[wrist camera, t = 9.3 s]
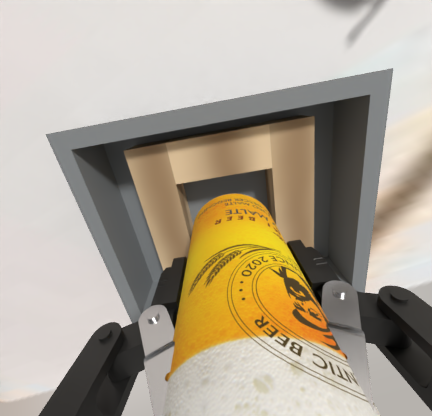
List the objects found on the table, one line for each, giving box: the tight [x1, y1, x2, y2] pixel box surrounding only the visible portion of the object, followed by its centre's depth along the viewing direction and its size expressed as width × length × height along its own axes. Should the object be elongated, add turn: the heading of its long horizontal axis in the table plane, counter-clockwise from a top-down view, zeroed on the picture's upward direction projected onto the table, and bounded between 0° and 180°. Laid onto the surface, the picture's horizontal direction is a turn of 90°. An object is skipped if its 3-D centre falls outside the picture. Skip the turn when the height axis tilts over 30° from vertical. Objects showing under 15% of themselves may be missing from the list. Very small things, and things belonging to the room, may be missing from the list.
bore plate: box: [124, 115, 315, 271], centre depth 20 cm, size 14×14×3 cm
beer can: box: [163, 194, 380, 416], centre depth 11 cm, size 6×6×15 cm
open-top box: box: [46, 68, 393, 324], centre depth 20 cm, size 22×18×6 cm
